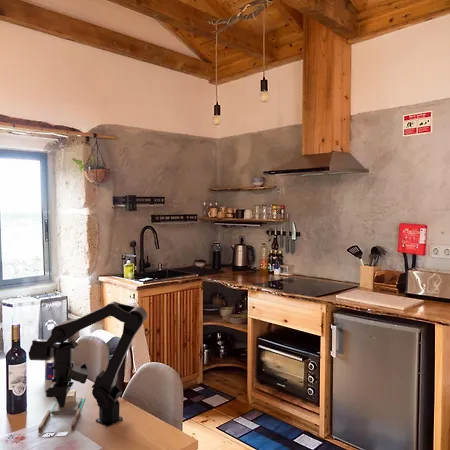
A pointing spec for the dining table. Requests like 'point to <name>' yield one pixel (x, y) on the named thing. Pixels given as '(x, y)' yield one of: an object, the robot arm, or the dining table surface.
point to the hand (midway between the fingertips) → (62, 407)
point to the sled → (68, 404)
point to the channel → (49, 417)
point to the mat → (79, 406)
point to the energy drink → (48, 373)
